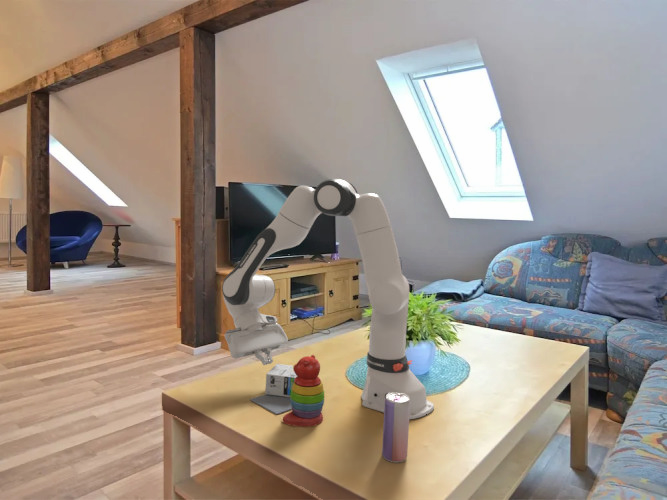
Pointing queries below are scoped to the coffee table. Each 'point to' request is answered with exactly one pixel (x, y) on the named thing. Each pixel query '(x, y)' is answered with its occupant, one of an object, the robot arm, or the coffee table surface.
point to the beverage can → (396, 427)
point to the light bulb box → (280, 380)
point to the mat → (273, 403)
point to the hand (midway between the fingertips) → (268, 363)
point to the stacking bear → (306, 394)
